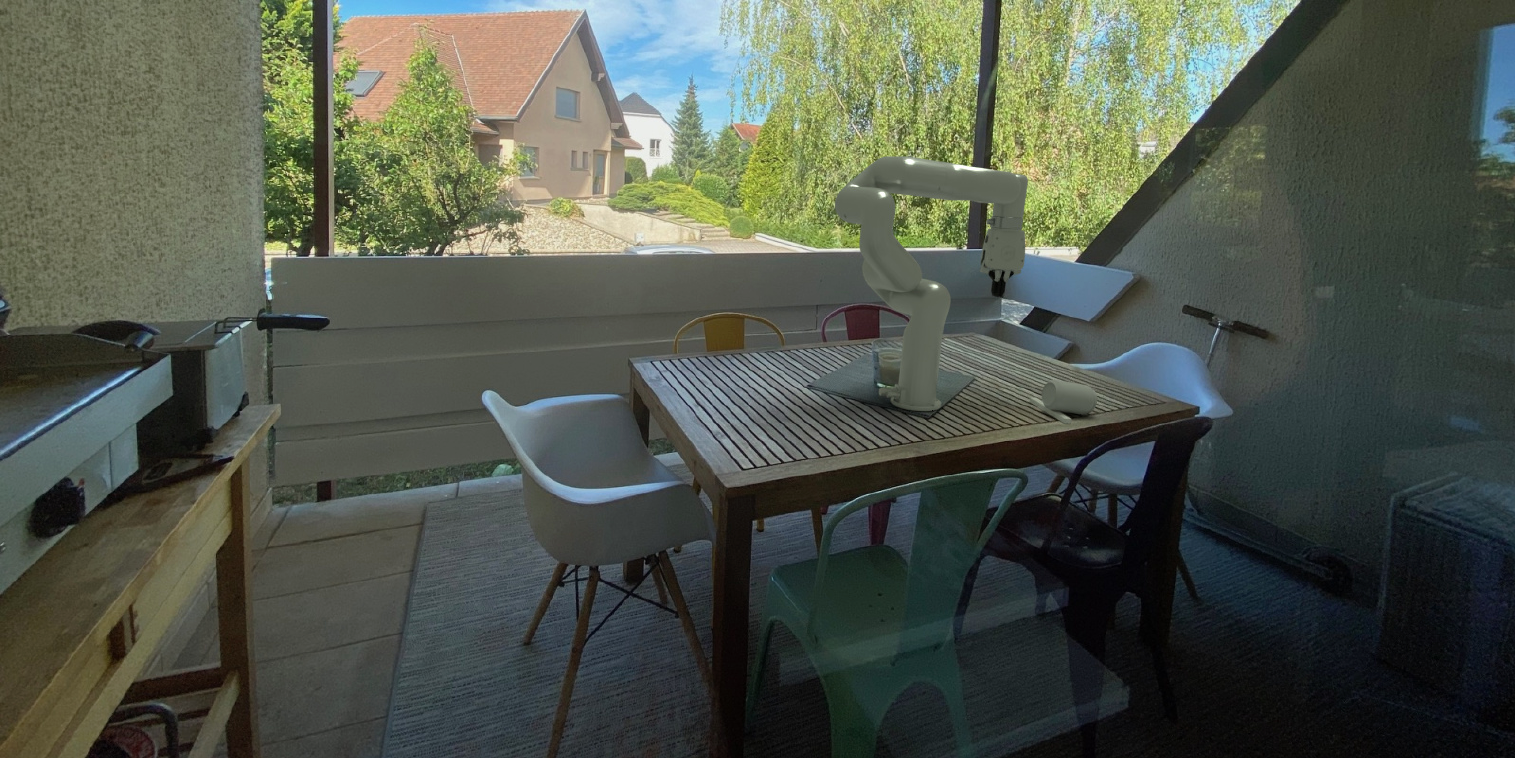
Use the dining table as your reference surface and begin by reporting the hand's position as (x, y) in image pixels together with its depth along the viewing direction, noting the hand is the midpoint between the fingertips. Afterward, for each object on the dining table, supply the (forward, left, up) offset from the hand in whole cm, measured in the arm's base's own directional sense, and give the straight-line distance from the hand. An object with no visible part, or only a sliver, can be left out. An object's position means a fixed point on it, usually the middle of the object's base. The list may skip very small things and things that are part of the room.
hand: (997, 296), depth 200 cm
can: (+9, -16, -22) cm, 28 cm away
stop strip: (+11, -14, -27) cm, 32 cm away
